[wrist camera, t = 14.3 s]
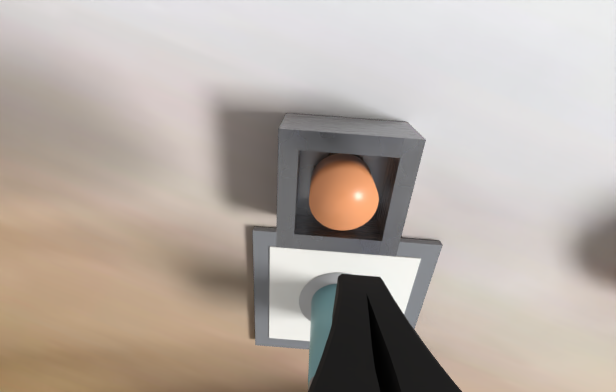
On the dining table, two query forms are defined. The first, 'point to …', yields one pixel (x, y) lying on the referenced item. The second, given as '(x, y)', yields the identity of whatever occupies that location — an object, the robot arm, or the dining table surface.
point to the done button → (342, 192)
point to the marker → (320, 325)
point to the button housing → (368, 147)
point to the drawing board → (328, 282)
